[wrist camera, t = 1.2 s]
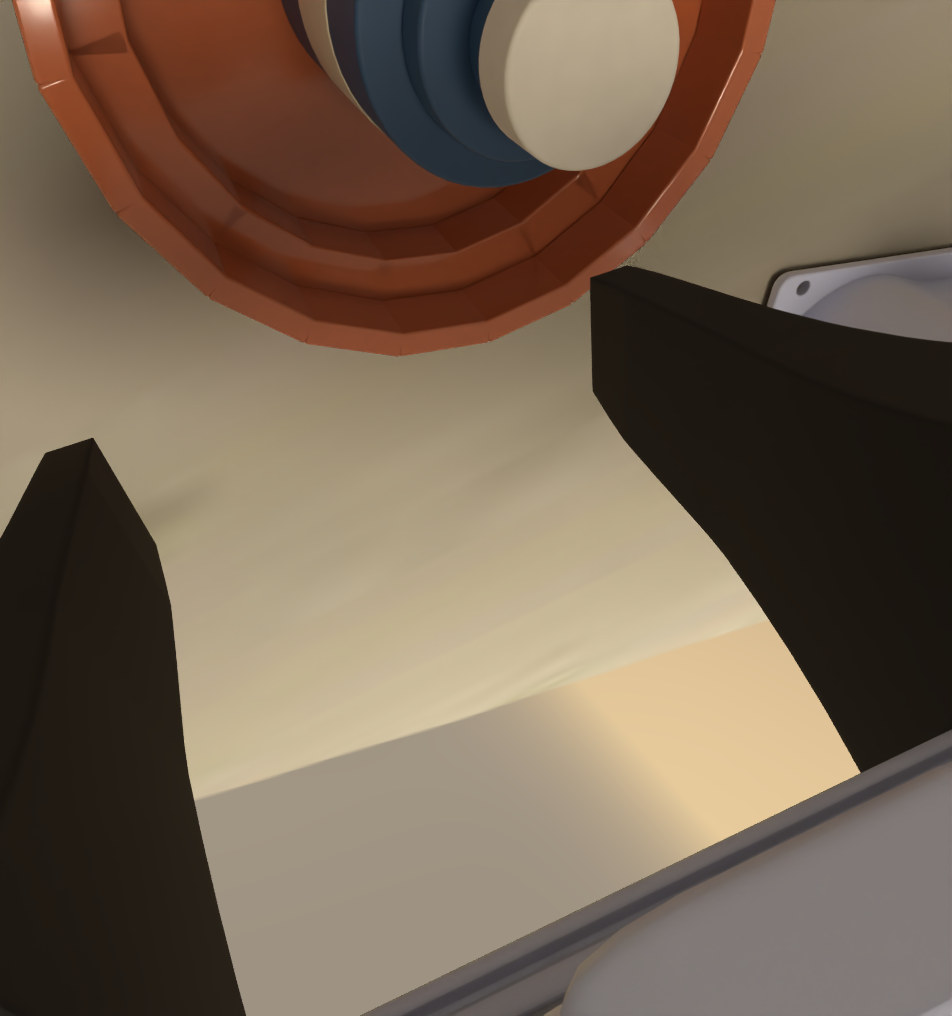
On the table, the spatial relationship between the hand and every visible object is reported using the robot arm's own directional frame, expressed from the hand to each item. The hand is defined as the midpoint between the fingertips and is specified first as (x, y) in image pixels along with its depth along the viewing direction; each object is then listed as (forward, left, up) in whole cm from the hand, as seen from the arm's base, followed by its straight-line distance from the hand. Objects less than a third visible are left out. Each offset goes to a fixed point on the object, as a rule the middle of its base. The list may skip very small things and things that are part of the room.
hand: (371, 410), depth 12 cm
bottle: (-3, -4, -10) cm, 11 cm away
